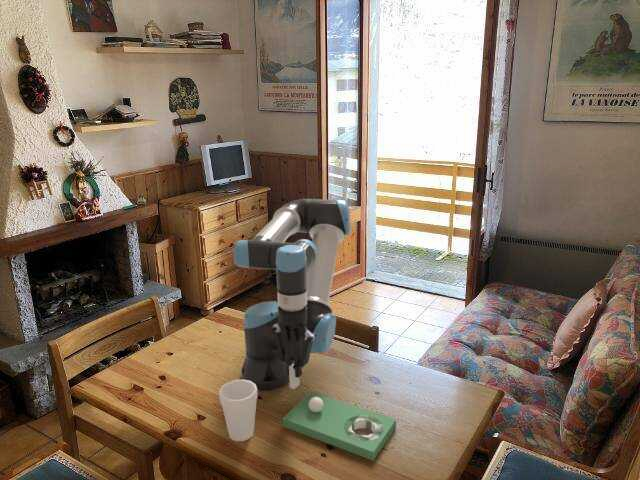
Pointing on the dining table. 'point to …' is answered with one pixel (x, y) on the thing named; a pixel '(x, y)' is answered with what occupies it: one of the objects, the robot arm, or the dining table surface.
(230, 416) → the foam cup
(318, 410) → the ball
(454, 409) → the dining table surface
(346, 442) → the green
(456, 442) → the dining table surface
